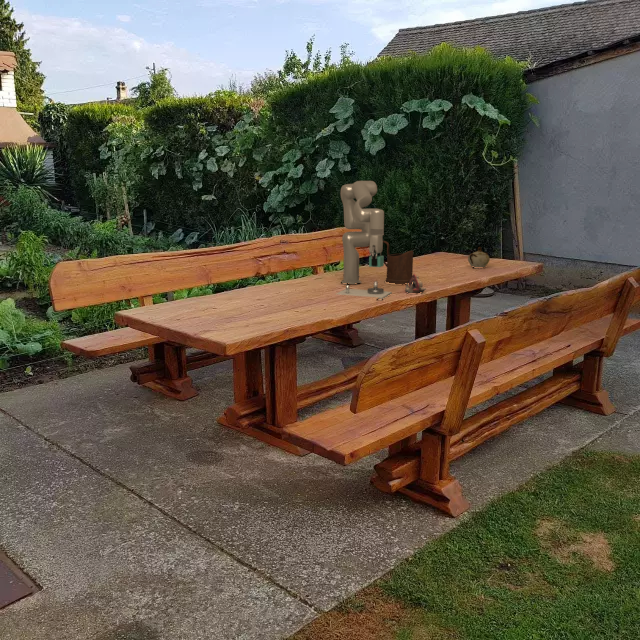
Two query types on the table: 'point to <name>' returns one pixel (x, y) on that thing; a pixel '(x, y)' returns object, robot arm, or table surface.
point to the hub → (375, 289)
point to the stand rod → (347, 288)
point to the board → (363, 293)
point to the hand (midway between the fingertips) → (376, 264)
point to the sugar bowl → (478, 258)
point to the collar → (379, 261)
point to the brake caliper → (415, 285)
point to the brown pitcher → (399, 267)
